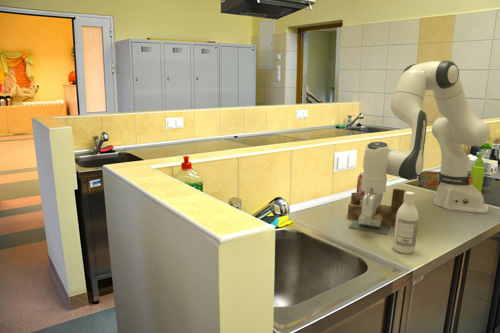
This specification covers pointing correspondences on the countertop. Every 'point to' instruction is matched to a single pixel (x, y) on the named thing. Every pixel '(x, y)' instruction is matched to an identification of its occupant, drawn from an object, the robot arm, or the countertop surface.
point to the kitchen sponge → (375, 220)
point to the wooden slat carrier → (384, 210)
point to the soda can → (360, 186)
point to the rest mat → (370, 228)
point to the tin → (428, 179)
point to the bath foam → (406, 225)
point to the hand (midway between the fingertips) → (370, 220)
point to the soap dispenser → (478, 172)
